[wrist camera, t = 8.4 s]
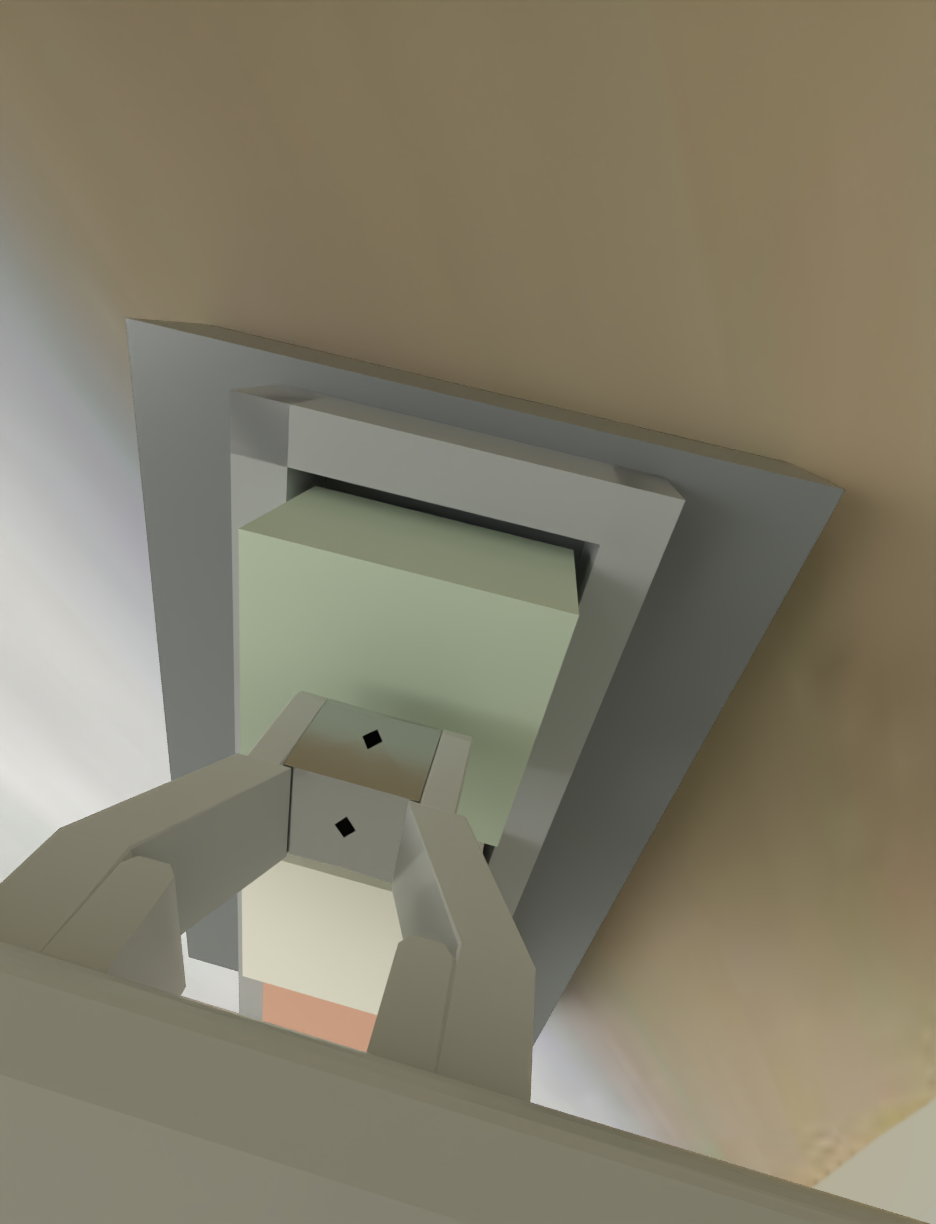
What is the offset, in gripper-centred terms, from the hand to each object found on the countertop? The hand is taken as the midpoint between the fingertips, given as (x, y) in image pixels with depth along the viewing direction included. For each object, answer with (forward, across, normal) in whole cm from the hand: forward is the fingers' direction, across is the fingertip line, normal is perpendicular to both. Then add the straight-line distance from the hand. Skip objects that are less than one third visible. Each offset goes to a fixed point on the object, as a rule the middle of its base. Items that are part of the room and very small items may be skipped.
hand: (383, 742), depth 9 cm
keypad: (+8, 0, +8) cm, 11 cm away
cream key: (+4, 0, +8) cm, 9 cm away
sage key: (+4, 0, 0) cm, 4 cm away
